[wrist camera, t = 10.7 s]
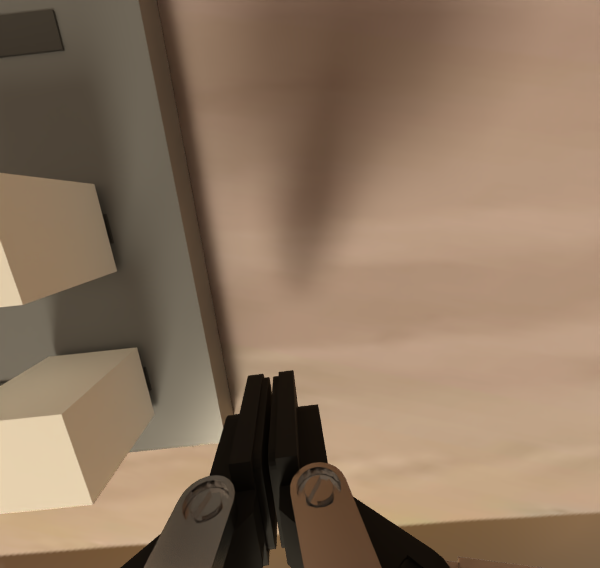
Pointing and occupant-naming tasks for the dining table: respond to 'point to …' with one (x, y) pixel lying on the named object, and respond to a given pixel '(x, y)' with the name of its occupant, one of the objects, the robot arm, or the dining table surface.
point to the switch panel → (114, 204)
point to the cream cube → (69, 428)
